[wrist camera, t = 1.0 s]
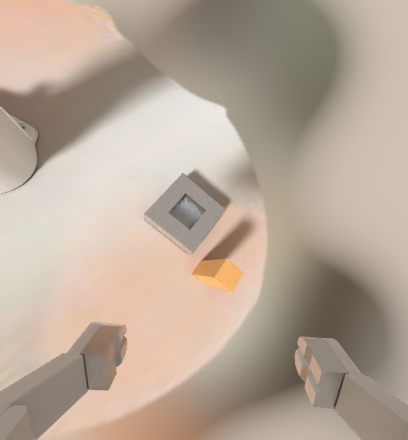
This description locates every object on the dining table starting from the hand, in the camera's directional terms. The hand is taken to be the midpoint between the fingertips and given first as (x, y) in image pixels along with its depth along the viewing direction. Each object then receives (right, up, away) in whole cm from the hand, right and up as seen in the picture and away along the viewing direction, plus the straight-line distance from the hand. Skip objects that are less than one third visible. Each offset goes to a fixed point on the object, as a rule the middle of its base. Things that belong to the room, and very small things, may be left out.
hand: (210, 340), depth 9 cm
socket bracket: (-5, +6, +34) cm, 35 cm away
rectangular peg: (-1, -6, +32) cm, 33 cm away
